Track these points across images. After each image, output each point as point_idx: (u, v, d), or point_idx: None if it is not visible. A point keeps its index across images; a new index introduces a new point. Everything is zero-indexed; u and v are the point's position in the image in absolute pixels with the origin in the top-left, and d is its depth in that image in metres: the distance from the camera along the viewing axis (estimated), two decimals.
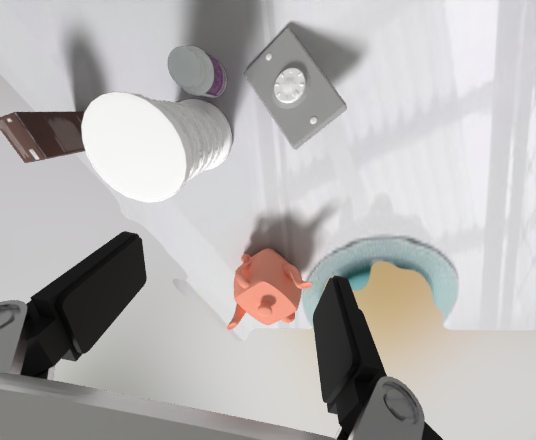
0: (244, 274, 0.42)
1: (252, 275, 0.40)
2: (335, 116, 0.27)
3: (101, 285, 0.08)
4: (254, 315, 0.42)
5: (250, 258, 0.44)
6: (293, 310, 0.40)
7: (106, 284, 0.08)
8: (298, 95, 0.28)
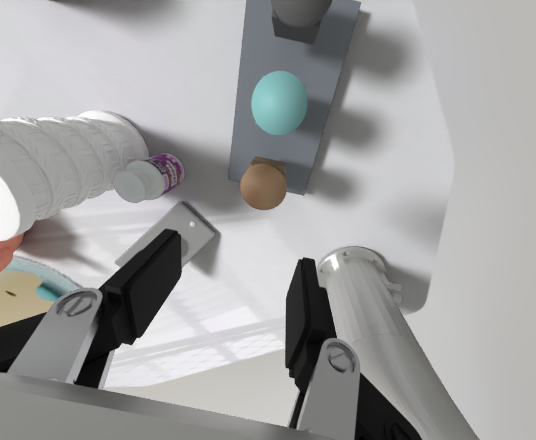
0: None
1: None
2: None
3: (153, 276, 0.08)
4: None
5: None
6: None
7: (156, 276, 0.09)
8: None
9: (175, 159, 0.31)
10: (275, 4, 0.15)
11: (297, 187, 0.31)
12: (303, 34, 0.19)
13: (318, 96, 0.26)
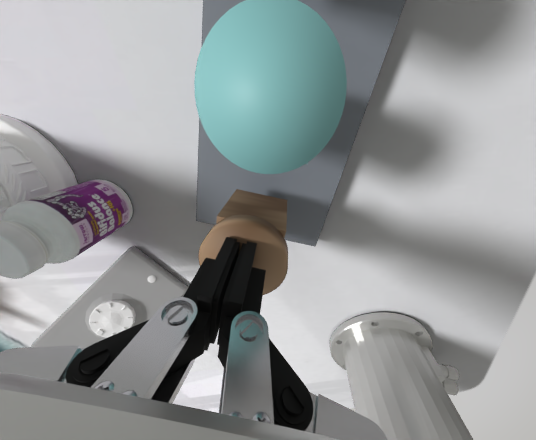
0: None
1: None
2: None
3: (226, 284, 0.09)
4: None
5: None
6: None
7: (227, 284, 0.09)
8: (100, 335, 0.23)
9: (113, 189, 0.20)
10: None
11: (305, 234, 0.20)
12: None
13: (346, 88, 0.14)
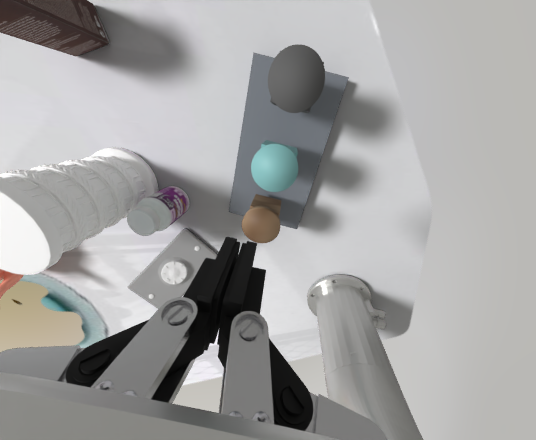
0: None
1: None
2: (158, 307, 0.39)
3: (226, 284, 0.09)
4: None
5: None
6: None
7: (227, 284, 0.09)
8: (167, 282, 0.38)
9: (181, 192, 0.35)
10: (273, 97, 0.19)
11: (291, 222, 0.34)
12: None
13: (311, 148, 0.29)
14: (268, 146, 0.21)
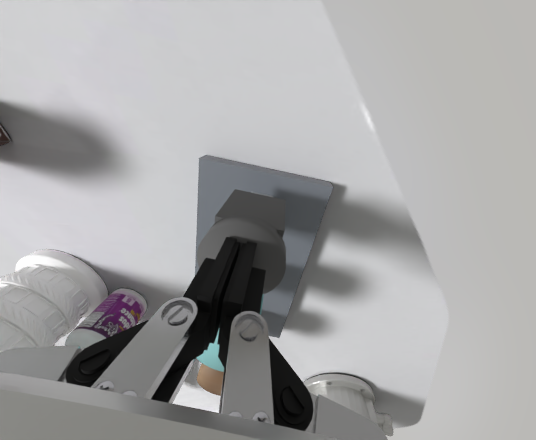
0: None
1: None
2: None
3: (226, 284, 0.09)
4: None
5: None
6: None
7: (227, 284, 0.09)
8: None
9: (134, 298, 0.28)
10: None
11: (271, 331, 0.28)
12: None
13: (289, 261, 0.22)
14: None
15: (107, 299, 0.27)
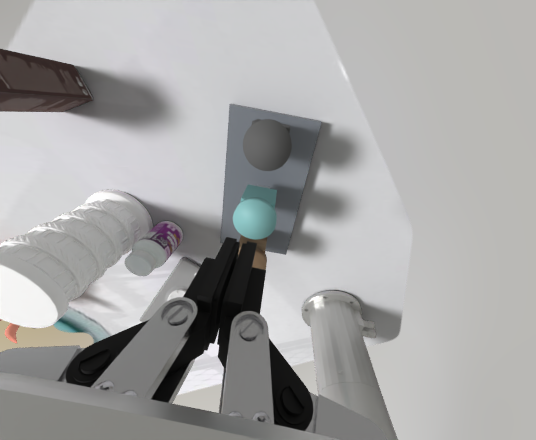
0: None
1: None
2: None
3: (226, 284, 0.09)
4: None
5: None
6: None
7: (227, 284, 0.09)
8: None
9: (174, 227, 0.37)
10: (248, 160, 0.22)
11: (279, 248, 0.36)
12: None
13: (292, 184, 0.31)
14: (246, 203, 0.22)
15: (155, 226, 0.36)
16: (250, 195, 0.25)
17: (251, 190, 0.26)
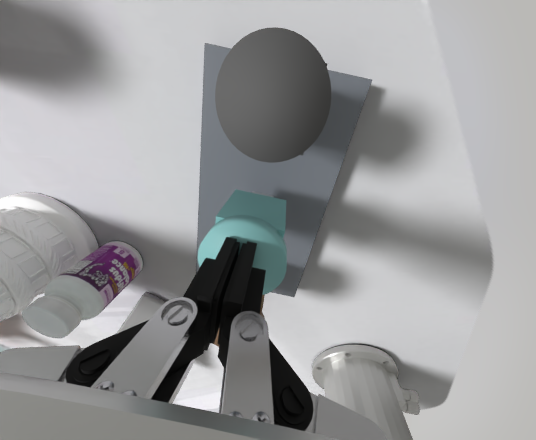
0: None
1: None
2: None
3: (226, 284, 0.09)
4: None
5: None
6: None
7: (227, 284, 0.09)
8: None
9: (128, 251, 0.24)
10: (229, 136, 0.10)
11: (285, 288, 0.24)
12: None
13: (310, 192, 0.18)
14: (225, 228, 0.10)
15: (96, 250, 0.23)
16: (236, 210, 0.13)
17: (240, 200, 0.14)
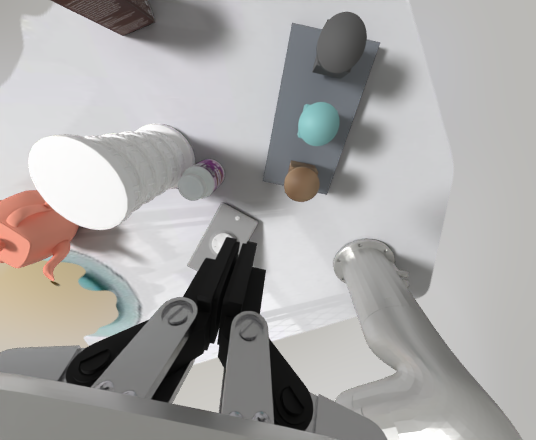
0: None
1: (30, 224, 0.38)
2: None
3: (226, 284, 0.09)
4: None
5: None
6: (13, 266, 0.40)
7: (227, 284, 0.09)
8: None
9: (218, 164, 0.37)
10: (321, 59, 0.22)
11: (321, 187, 0.37)
12: (335, 73, 0.26)
13: (342, 113, 0.31)
14: (314, 104, 0.24)
15: (201, 161, 0.36)
16: None
17: None
